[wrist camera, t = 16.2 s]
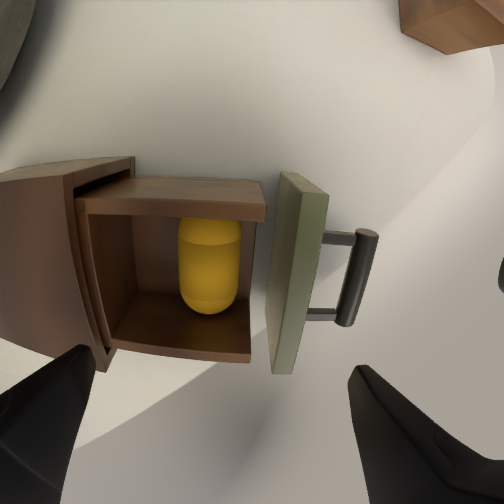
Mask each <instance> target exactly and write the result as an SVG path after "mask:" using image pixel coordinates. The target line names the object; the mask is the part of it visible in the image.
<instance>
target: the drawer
mask: <svg viewBox="0 0 504 504" xmlns="http://www.w3.org/2000/svg"><path fill="white" fill-rule="evenodd" d="M328 202H329V195H328V194H327V193H325V192H324V191H322V190H321V189H320V188H318V187H317V186H315V185H314V184H313V183H311V182H310V181H308V180H307V179H305V178H304V177H303V176H301V175H300V174H298V173H288V172H281V176H280V185H279V195H278V204H277V213H276V222H275V231H274V239H273V248H272V256H271V264H270V272H269V280H268V288H267V296H266V304H265V315H266V324H267V333H268V342H269V352H270V362H271V371H272V374H292V370H293V367H294V363H295V359H296V356H297V352H298V347H299V344H300V340H301V336H302V332H303V328H304V324H305V321H334V322H335V323H336V324H338V325H340V326H342V327H349V326H352V325H353V324H354V321H355V318H356V315H357V312H358V309H359V306H360V303H361V300H362V297H363V293H364V290H365V287H366V284H367V280H368V276H369V273H370V270H371V266H372V262H373V259H374V255H375V251H376V247H377V243H378V239H379V235H378V234H377V233H376V232H374V231H372V230H369V229H364V228H358V229H356V230H355V234H354V233H349V232H339V231H328V230H324V226H325V220H326V214H327V208H328ZM74 207H75V216H76V225H77V233H78V240H79V246H80V252H81V258H82V264H83V269H84V274H85V279H86V283H87V288H88V292H89V296H90V301H91V305H92V308H93V312H94V316H95V319H96V323H97V326H98V330H99V333H100V336H101V340H102V343H103V346H107V347H112V348H117V349H123V350H128V351H134V352H140V353H146V354H153V355H160V356H167V357H175V358H184V359H193V360H203V361H215V362H231V363H250V360H251V334H250V290H251V279H252V268H253V257H254V246H255V235H256V224H257V222H265V221H266V212H267V205H266V201H265V198H264V195H263V192H262V189H261V186H260V182H259V181H250V180H235V179H218V178H195V177H123V178H121V179H118V180H116V181H113V182H111V183H109V184H106V185H104V186H101V187H99V188H97V189H94V190H92V191H90V192H87V193H85V194H83V195H81V196H78V197H76V198H74ZM181 218H201V219H218V220H234V221H239V222H240V225H241V248H240V263H239V277H238V289H237V294H236V296H235V299H234V301H233V302H232V303H231V305H230V306H229V307H227V308H226V309H225V310H223V311H221V312H219V313H215V314H203V313H199V312H197V311H195V310H193V309H192V308H190V307H189V306H188V305H187V303H186V302H185V301H184V299H183V297H182V295H181V292H180V284H179V261H178V227H179V223H180V220H181ZM321 244H334V245H346V246H352V248H351V252H350V257H349V261H348V266H347V269H346V273H345V277H344V281H343V285H342V289H341V293H340V296H339V300H338V304H337V307H336V310H335V309H334V308H332V309H331V308H308V307H309V302H310V297H311V293H312V288H313V284H314V279H315V274H316V269H317V264H318V259H319V254H320V249H321Z"/></svg>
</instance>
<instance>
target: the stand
mask: <svg viewBox="0 0 504 504" xmlns="http://www.w3.org/2000/svg"><path fill="white" fill-rule="evenodd" d="M399 10H400V21H401V33H403V34H406V35H408V36H410V37H413V38H415V39H417V40H419V41H421V42H423V43H425V44H427V45H429V46H431V47H433V48H435V49H437V50H439V51H441V52H442V53H444V54H446V55H450V54H454V53H458V52H462V51H467V50H472V49H476V48H482V47H487V46H493V45H499V44H504V0H399Z"/></svg>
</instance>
